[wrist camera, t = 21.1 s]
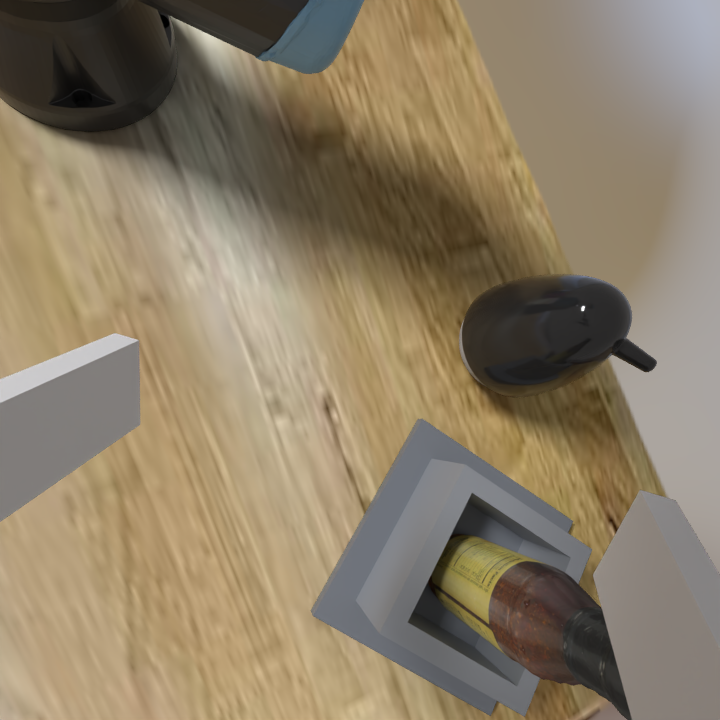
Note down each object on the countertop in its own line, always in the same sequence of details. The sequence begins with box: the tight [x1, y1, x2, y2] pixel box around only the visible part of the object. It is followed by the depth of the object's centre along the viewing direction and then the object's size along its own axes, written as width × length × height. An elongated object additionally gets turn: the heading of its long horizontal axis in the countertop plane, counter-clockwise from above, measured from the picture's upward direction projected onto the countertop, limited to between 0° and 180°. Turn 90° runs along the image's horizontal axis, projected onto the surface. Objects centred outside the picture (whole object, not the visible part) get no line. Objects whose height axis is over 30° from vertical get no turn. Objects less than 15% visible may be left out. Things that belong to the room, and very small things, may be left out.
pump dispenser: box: [459, 274, 657, 397], centre depth 37 cm, size 10×10×15 cm
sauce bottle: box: [428, 534, 632, 720], centre depth 30 cm, size 6×6×20 cm
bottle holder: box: [311, 419, 592, 717], centre depth 37 cm, size 18×18×7 cm
